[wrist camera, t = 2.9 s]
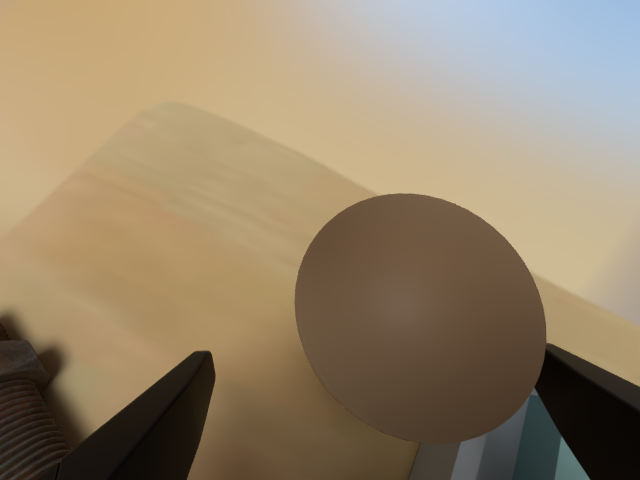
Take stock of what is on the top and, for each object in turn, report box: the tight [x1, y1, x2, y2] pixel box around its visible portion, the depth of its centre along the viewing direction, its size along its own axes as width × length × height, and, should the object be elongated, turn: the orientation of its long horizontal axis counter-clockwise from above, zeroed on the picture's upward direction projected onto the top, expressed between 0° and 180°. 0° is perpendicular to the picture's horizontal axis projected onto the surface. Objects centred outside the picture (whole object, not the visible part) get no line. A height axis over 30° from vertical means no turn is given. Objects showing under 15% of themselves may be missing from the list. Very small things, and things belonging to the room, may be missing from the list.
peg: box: [295, 194, 546, 444], centre depth 10 cm, size 4×4×13 cm
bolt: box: [0, 324, 71, 480], centre depth 13 cm, size 6×5×15 cm
